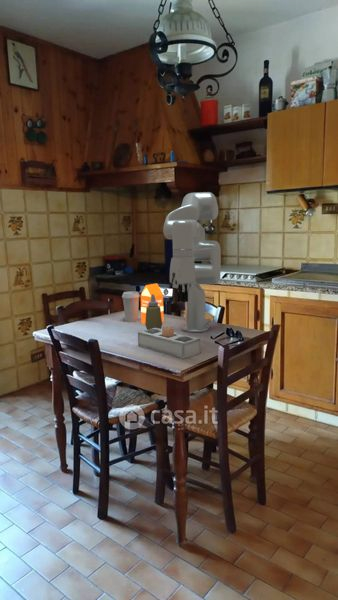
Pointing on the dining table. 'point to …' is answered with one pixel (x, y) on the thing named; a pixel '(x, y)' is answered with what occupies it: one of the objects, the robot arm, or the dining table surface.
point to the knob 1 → (152, 331)
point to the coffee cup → (131, 305)
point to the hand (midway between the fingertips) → (183, 301)
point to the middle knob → (167, 332)
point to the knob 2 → (184, 339)
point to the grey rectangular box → (170, 344)
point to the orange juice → (147, 298)
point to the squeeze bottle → (153, 314)
